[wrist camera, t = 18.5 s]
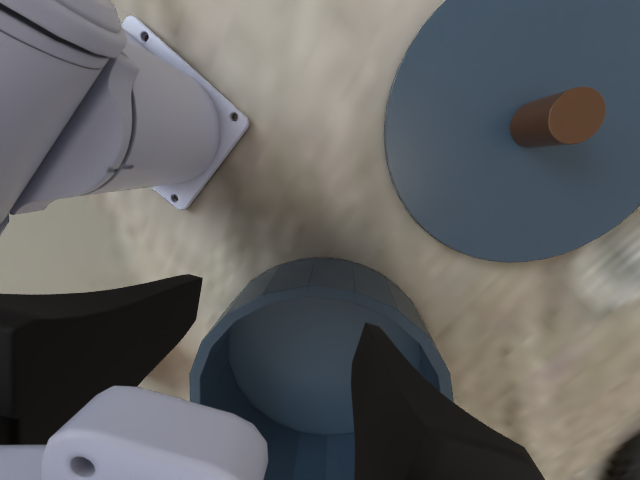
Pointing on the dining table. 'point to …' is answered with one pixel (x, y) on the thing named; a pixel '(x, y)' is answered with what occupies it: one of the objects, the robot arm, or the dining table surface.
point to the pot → (306, 360)
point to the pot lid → (518, 125)
